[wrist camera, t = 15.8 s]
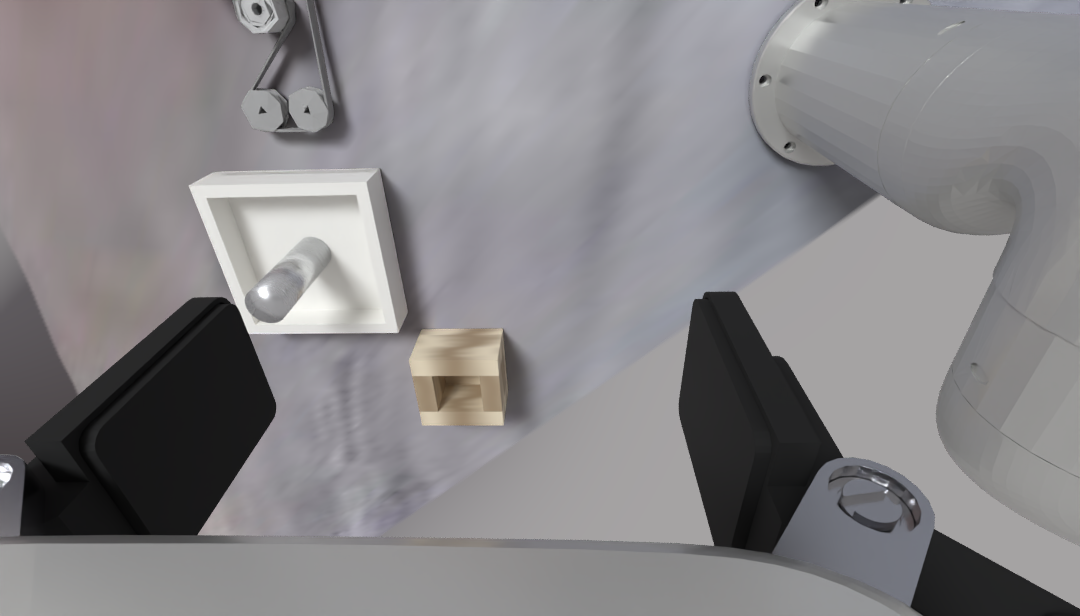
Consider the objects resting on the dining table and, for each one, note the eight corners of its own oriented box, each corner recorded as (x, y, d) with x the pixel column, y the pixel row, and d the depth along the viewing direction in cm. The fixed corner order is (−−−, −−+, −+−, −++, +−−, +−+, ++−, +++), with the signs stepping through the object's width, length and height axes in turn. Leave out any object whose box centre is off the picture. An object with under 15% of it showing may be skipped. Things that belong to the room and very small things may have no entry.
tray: (379, 168, 43) (366, 182, 40) (408, 312, 50) (398, 332, 47) (214, 171, 44) (188, 185, 41) (266, 313, 51) (248, 334, 48)
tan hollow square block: (502, 328, 51) (497, 360, 47) (508, 391, 55) (503, 425, 51) (421, 329, 51) (409, 360, 47) (433, 391, 56) (422, 425, 51)
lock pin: (327, 236, 45) (279, 288, 38) (335, 267, 47) (291, 323, 39) (293, 237, 45) (239, 288, 38) (302, 267, 47) (252, 323, 39)
